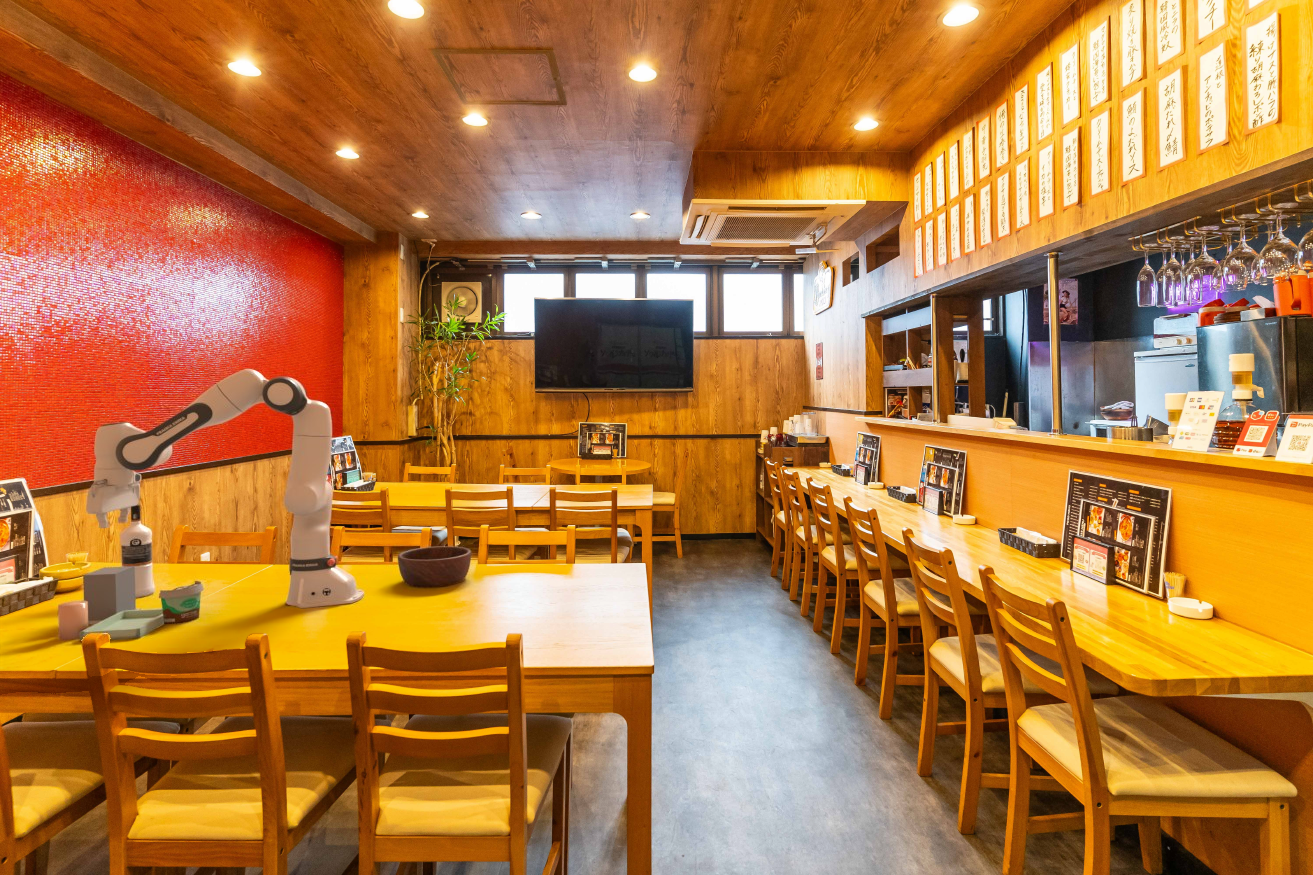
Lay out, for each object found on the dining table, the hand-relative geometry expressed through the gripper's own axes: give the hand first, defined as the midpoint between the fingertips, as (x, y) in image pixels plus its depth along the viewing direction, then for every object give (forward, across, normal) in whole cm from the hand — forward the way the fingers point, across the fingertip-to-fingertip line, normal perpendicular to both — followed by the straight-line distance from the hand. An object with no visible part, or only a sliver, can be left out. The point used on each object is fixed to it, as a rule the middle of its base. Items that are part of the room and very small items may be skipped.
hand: (113, 525), depth 197 cm
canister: (+27, -17, +1) cm, 32 cm away
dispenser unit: (+27, 0, +1) cm, 27 cm away
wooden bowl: (+25, +26, -87) cm, 95 cm away
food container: (+27, -7, -22) cm, 36 cm away
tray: (+27, -12, -10) cm, 31 cm away
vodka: (+28, +27, +7) cm, 39 cm away
